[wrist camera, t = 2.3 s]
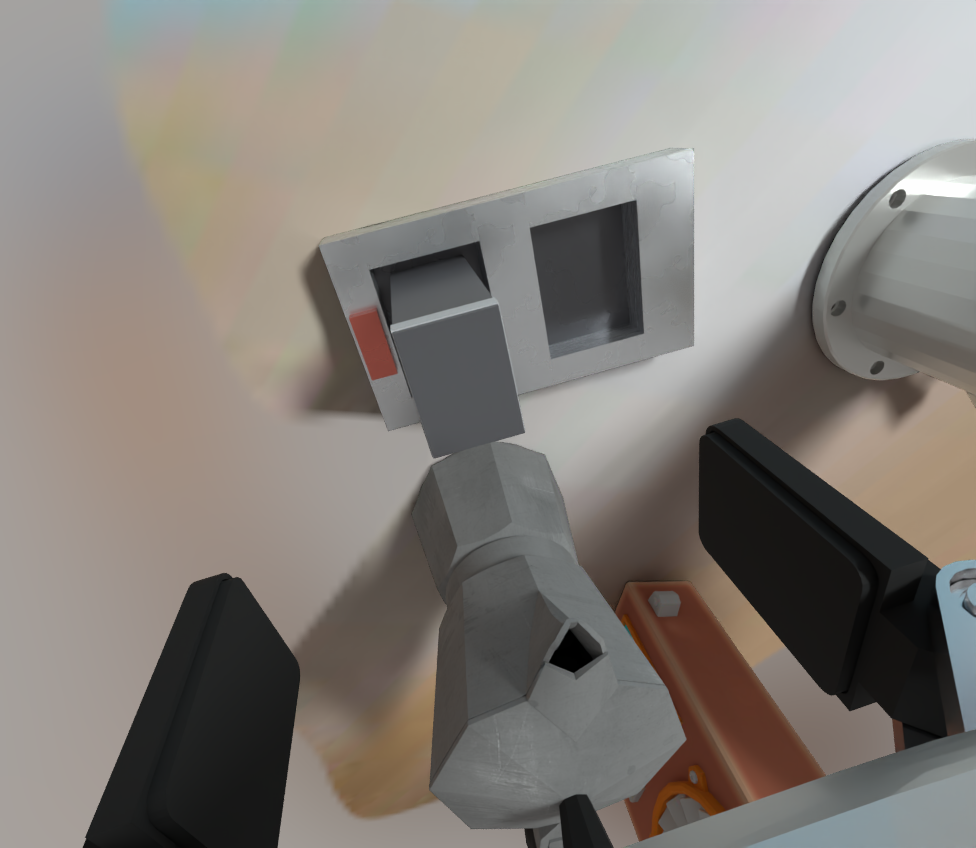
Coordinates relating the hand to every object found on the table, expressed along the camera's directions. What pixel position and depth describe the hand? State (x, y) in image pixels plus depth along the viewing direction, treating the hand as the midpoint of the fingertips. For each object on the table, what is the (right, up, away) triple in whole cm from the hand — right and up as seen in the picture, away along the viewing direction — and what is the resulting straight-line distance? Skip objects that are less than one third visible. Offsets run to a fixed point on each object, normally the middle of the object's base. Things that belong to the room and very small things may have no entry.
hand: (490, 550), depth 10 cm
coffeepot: (0, -3, +21) cm, 21 cm away
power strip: (+1, +9, +14) cm, 17 cm away
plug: (-2, +8, +14) cm, 16 cm away
